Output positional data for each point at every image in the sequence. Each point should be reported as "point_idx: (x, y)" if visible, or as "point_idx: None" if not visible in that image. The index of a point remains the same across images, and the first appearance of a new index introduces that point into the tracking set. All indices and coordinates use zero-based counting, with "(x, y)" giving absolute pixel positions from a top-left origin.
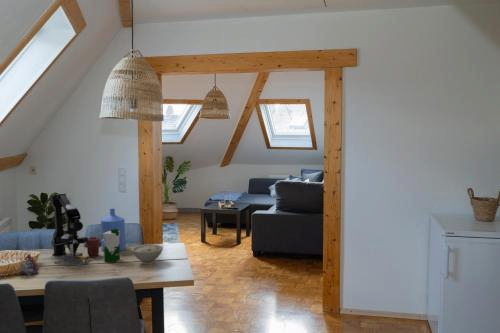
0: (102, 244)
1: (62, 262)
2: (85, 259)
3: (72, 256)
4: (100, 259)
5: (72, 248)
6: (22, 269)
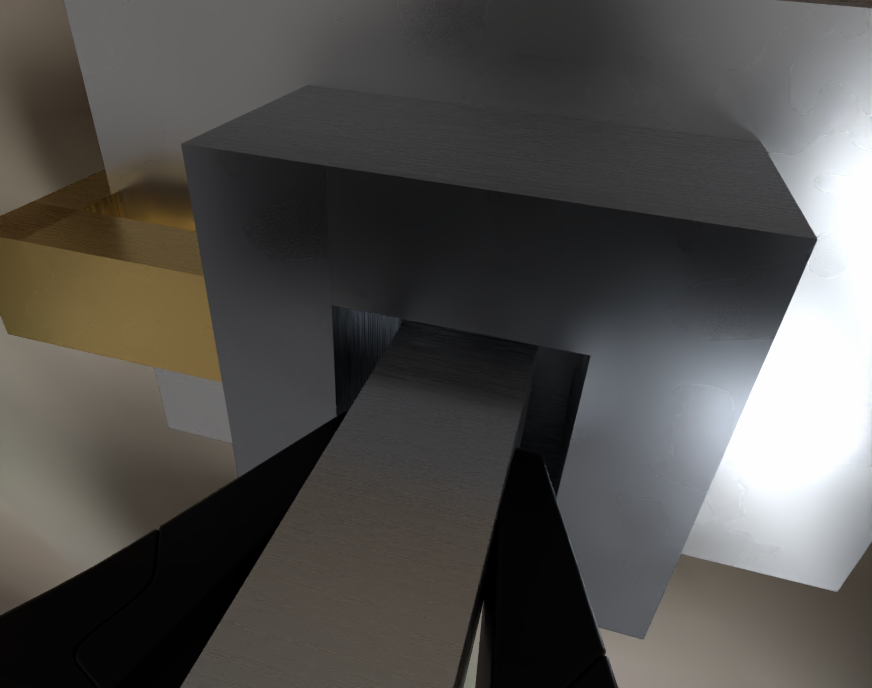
0: None
1: (766, 9)
2: (43, 210)
3: (303, 153)
4: (94, 449)
5: (297, 563)
6: None
